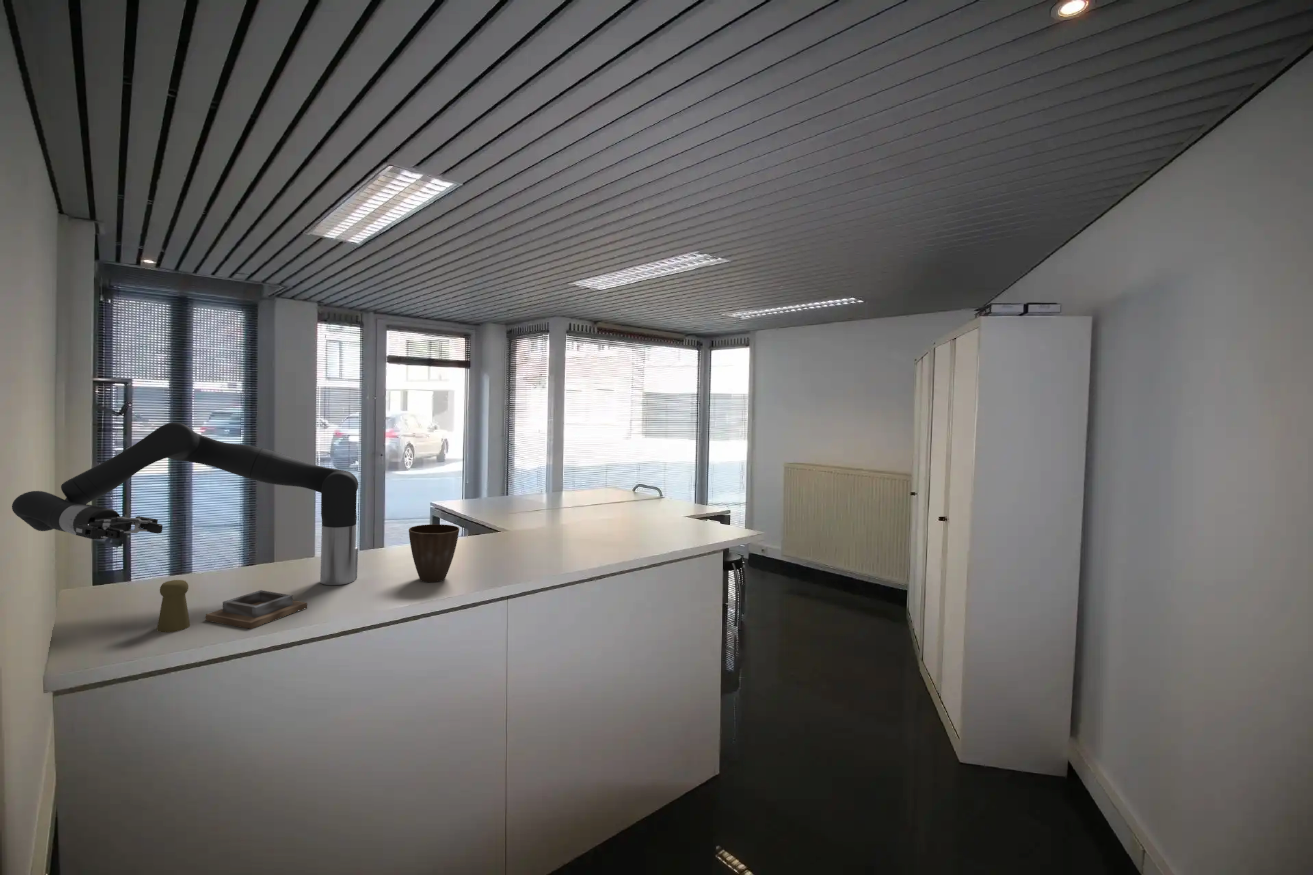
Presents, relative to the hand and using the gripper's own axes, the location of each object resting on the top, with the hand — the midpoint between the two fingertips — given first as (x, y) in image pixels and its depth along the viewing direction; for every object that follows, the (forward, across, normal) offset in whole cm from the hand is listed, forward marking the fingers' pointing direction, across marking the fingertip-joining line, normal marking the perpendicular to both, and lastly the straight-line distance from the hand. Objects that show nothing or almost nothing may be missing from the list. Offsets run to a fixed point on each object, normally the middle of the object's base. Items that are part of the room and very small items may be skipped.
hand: (142, 532), depth 141 cm
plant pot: (+41, +58, +18) cm, 73 cm away
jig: (+20, +14, +20) cm, 32 cm away
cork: (+11, +1, +21) cm, 24 cm away
